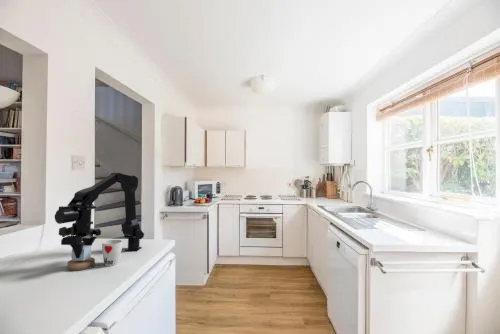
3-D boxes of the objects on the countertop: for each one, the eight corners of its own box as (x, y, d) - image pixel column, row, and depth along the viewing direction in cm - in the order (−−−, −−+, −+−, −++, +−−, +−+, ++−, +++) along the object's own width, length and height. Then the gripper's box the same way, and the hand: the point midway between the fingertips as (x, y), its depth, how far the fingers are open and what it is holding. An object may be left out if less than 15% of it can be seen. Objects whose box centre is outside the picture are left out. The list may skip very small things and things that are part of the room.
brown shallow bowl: (76, 262, 118) (77, 256, 118) (99, 263, 118) (99, 257, 118) (61, 270, 108) (61, 264, 108) (85, 271, 108) (85, 265, 108)
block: (79, 256, 116) (79, 245, 116) (90, 256, 116) (91, 245, 116) (71, 260, 111) (72, 248, 111) (83, 260, 111) (84, 248, 111)
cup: (97, 265, 116) (98, 242, 116) (114, 260, 123) (115, 238, 123) (108, 268, 112) (109, 245, 112) (125, 263, 119) (126, 241, 119)
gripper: (78, 215, 123) (76, 249, 123) (48, 223, 104) (46, 263, 104) (102, 216, 123) (100, 250, 123) (76, 224, 104) (74, 263, 104)
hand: (81, 256), depth 113 cm, fingers closed on block, 5 cm apart
